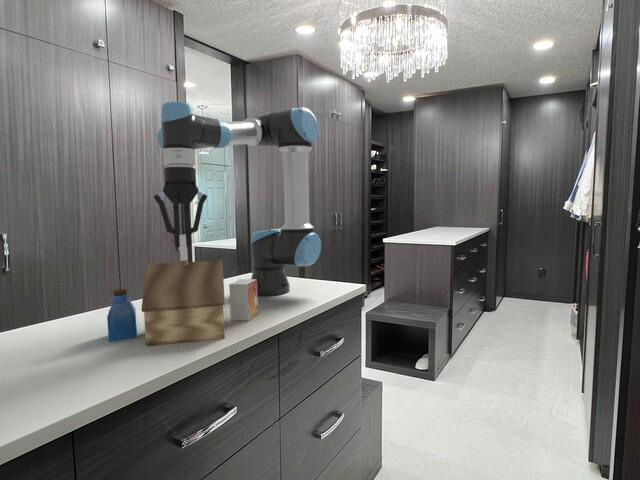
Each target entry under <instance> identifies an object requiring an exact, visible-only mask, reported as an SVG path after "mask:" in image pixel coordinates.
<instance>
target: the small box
mask: <svg viewBox="0 0 640 480" xmlns="http://www.w3.org/2000/svg"><path fill="white" fill-rule="evenodd" d="M228 286H229V287H228V288H229V305H230V306H229V309H230V320H231V321H242V322H243V321H250V320H252V319H253V318H254V317H255V316H257V315H259V300H258V299H259V298H258V296H259V295H257V279H251V278H248V279H245V278H244V279H243V278H242V279H238V280H236V281H233V282H232V283H229V285H228Z"/></svg>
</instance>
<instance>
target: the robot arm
mask: <svg viewBox="0 0 640 480" xmlns="http://www.w3.org/2000/svg"><path fill="white" fill-rule="evenodd" d="M160 115H161V116H160V117H161V119H160V123H161V127H160V128H159V130H158V132H157V134H156V140H157V144H158V146H159V147H160V148H161V149H162V151H163V165H164V166H165V167H164V169H163V173H164V175H163V176H164V186H163V188H162V191H161V192H159V193H158V194H155V195H154V196H153V198H154V200H155V201H156V203H157V204H158V206H159V210H160V213H161V216H162V220H163V222H164V226H165V230H166V232H167V233H170V234H173V235H174V244H175V245H174V246H175V248H179V256H180V262H182V261H188V260H189V259H188V257H189V256H188V248H191V246H192V235H193V234H194V233H196V232H198V231H199V227H200V222H201V217H202V212H203V208H204V204H205V202H206V200H207V198H208V195H207V194H204V192H203V193H202V192H201V191H199V187H198V185H197V171H196V168H195V167H194V166H196V150H199V149H200V150H202V149H210V148H214V149H223V148H226V147H230V146H240V145H247V146H249V147H258V146H259V147H277V148H278V151H280V152H281V153H282V161H283V162H282V163H283V197H284V198H283V199H284V200H283V201H284V202H283V203H284V223H283V225H282V226H281V227H280V228H273V229H267V230H261V231H260V230H259V231H255V232H253V233H252V234H251V243H250V244H251V259H252V261H251V263H252V273H251V278H250V279H257V295H258V296H263V297H264V296H265V297H267V296H276V295H283V294H287V293H288V292H290V291H291V290H290V289H291V288H290V282H289V280H288V277H287V274H286V271H285V266H296V267H310V266H312V265H314V264H315V262H317V260H318V259H319V256H320V254H321V250H322V242H321V238H320V236H319V234H317V233H316V232H315V227H314V226H313V225H312V224H311V223H310V198H309V197H310V195H309V194H310V193H309V192H310V191H309V188H310V187H309V185H310V184H309V153H310V152H311V151H312V150H313V143H314V142H315V141H317V139H318V137H319V129H320V128H319V124H318V121H317V119H316V117H315V115H314V113H313V112H312V111H311V110H310V109H308V108H306V107H299V108H298V107H294V108H291V109H286V110H279V111H274V112H269V113H266V114H263V115H259V116H256V117H255V116H254V117H248V118H246V119H243V120H241V121H240V120H239V121H223V120H220V119H218V118H212V117H206V116H201V115H198V114H195V111H194V107H193V105H192V104H190V103H188V102H183V101H168V102H165V103H163V104H162V106H161V114H160ZM196 196H197V201H198V203H197V207H196V212H195V217H194V221H193V227H192V223H191V222H192V221H191V203H192V202H193V200H194V199H195V198H196ZM166 197H167V198H168V200H169V201H170V202H171V203H172V208H173V226H172V222H171V218H170V215H169V212H168V210H167V209H168V208H167V205H166V203H165V201H166ZM180 204H182V205H183V207H184V208H183V211H184V230H185V234H182V233H181V220H180V219H181V216H180V215H181V214H180Z"/></svg>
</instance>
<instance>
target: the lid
mask: <svg viewBox="0 0 640 480" xmlns="http://www.w3.org/2000/svg"><path fill="white" fill-rule="evenodd" d="M223 261H224V260H223V259H219V260H215V259H214V260H200V261H188V260H187V261H180V262H167V263H149V264H146V268H145V276H144V277H145V278H144V285H143V293H142V302H141V313H144V312H148V311H160V310H172V309H184V308H196V307H208V306H220V305H223V306H225V305H226V304H225V303H226V301H225V284H224V282H225V281H224V280H225V278H224V265H223V264H224V263H223Z"/></svg>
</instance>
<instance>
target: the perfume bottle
mask: <svg viewBox="0 0 640 480" xmlns="http://www.w3.org/2000/svg"><path fill="white" fill-rule="evenodd" d="M112 292H113V295H112V300H113V302H112V303H111V305H110V308H109V310H108V313H107V317H106V319H107V321H106V322H107V331H108V333H107V334H108V342H109V343H111V342H115V341H116V342H119V341H125V340H133V339H137V338H138V337H137V335H138V328H137V315H136V314H137V312H136V308H135V306H134V304H133V303H132V302H131V300H128V298H129V293H127V292H128V289H127V288H117V289H114V290H113V291H112Z"/></svg>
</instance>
